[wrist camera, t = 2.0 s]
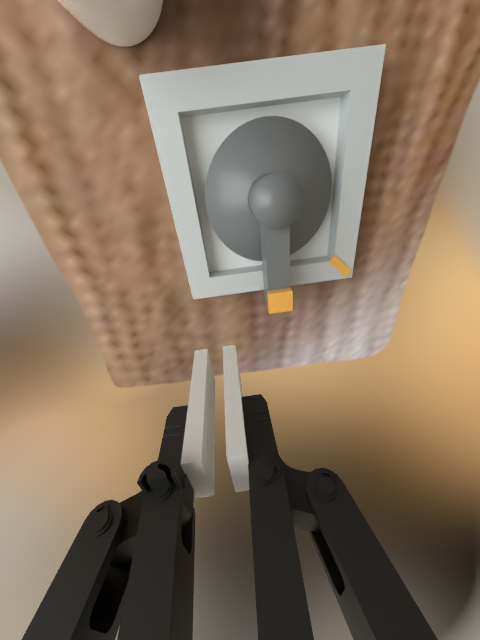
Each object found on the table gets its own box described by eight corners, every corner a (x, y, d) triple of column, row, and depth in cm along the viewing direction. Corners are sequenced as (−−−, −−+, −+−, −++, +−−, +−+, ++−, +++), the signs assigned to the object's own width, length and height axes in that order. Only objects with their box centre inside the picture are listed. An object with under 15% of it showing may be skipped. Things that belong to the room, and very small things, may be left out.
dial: (193, 129, 22) (186, 113, 17) (330, 111, 22) (365, 90, 17) (222, 296, 31) (223, 320, 26) (318, 283, 31) (338, 304, 26)
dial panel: (150, 91, 22) (137, 73, 18) (360, 64, 22) (387, 42, 19) (195, 286, 32) (193, 300, 29) (337, 266, 33) (352, 277, 29)
